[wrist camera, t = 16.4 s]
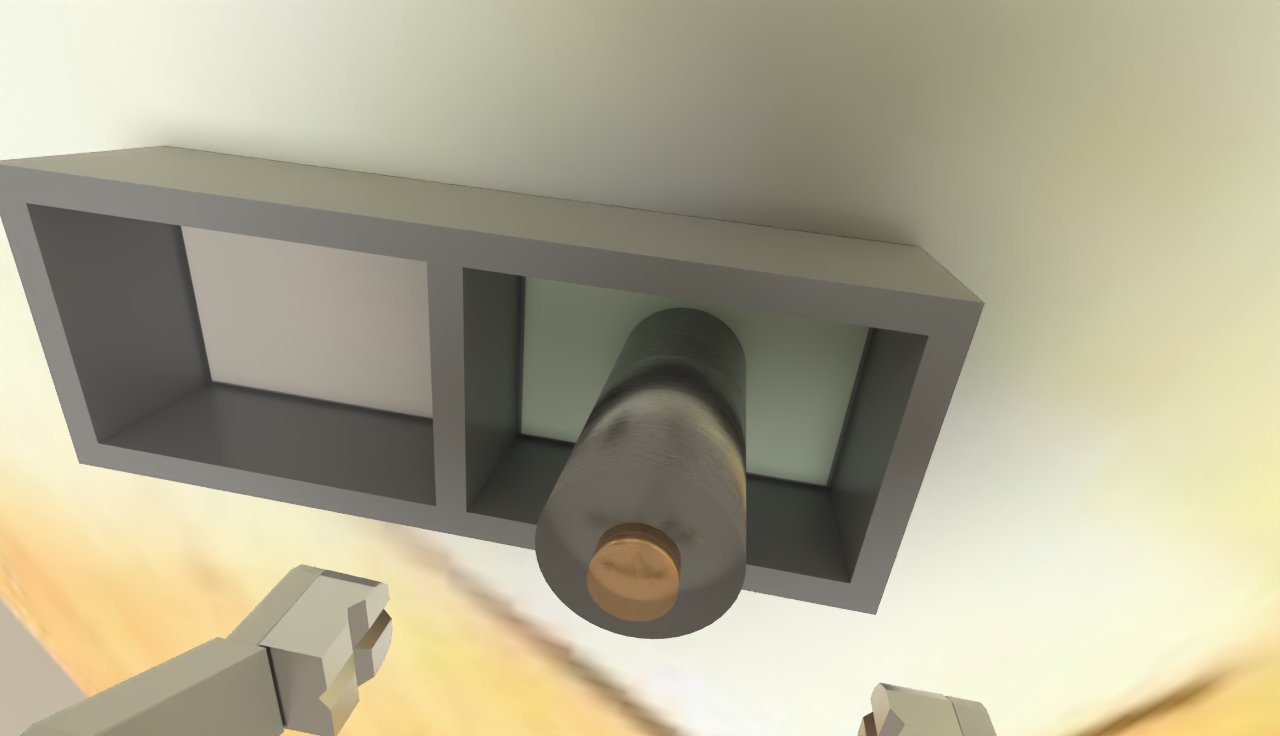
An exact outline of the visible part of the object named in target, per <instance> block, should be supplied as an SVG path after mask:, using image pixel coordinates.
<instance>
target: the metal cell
mask: <svg viewBox="0 0 1280 736" xmlns="http://www.w3.org/2000/svg"><path fill="white" fill-rule="evenodd" d="M535 551H536V556H537V561H538V564H539V567H540V570H541V572H542V574H543V576H544V578H545V580H546V582H547V583H548V585H549V586H550V588H551V589H552V591H553V592H554V593H555V594H556V595H557V597H558V598H559V599H560V600H561V601H562V602H563V603H564V604H565V605H566V606H567V607H568V608H569V609H571V610H572V611H573V612H575V613H576V614H577V615H579V616H580V617H582V618H583V619H585V620H587V621H588V622H590V623H592V624H594V625H596V626H598V627H600V628H603V629H605V630H608V631H611V632H614V633H617V634H621V635H625V636H629V637H636V638H645V639H664V638H672V637H679V636H683V635H686V634H690V633H693V632H695V631H698V630H700V629H703V628H704V627H706V626H708V625H710V624H712V623H713V622H715V621H716V620H717V619H719V618H720V617H721V616H722V615H723V614H724V613H725V612H726V611H727V610H728V609H729V608H730V607H731V606H732V604H733V603H734V602H735V600H736V599H737V597H738V595H739V593H740V591H741V589H742V586H743V583H744V579H745V573H746V359H745V354H744V351H743V348H742V345H741V343H740V341H739V339H738V338H737V336H736V335H735V333H734V332H733V331H732V330H731V329H730V328H729V327H728V326H727V325H726V324H725V323H724V322H723V321H721V320H720V319H718V318H717V317H715V316H713V315H711V314H709V313H707V312H704V311H701V310H697V309H692V308H671V309H665V310H662V311H659V312H656V313H654V314H652V315H650V316H648V317H647V318H645V319H644V320H643V321H641V322H640V323H639V324H638V325H637V326H636V327H635V328H634V329H633V330H632V332H631V333H630V335H629V336H628V338H627V340H626V342H625V344H624V346H623V348H622V350H621V352H620V354H619V356H618V358H617V360H616V363H615V365H614V367H613V369H612V371H611V373H610V375H609V377H608V379H607V381H606V383H605V385H604V387H603V389H602V391H601V393H600V395H599V397H598V399H597V401H596V403H595V405H594V407H593V409H592V411H591V413H590V416H589V418H588V420H587V422H586V424H585V426H584V428H583V430H582V432H581V434H580V436H579V438H578V440H577V442H576V444H575V446H574V448H573V450H572V452H571V454H570V456H569V458H568V460H567V462H566V464H565V466H564V469H563V471H562V473H561V475H560V477H559V479H558V481H557V483H556V485H555V487H554V489H553V491H552V493H551V495H550V497H549V499H548V501H547V503H546V505H545V507H544V509H543V511H542V513H541V515H540V517H539V521H538V524H537V527H536V535H535Z"/></svg>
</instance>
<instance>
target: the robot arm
mask: <svg viewBox="0 0 1280 736" xmlns="http://www.w3.org/2000/svg"><path fill="white" fill-rule="evenodd" d="M389 600H390V597H389V591H388V585H387V584H384V583H382V582H378V581H373V580H369V579H365V578H360V577H356V576H352V575H347V574H343V573H339V572H335V571H330V570H325V569H320V568H316V567H311V566H307V565H300V566H298V567H296V568H294V569H292V570H291V571H289V573H288V574H287V575H286V576H285V577H284V578H283V579H282V580H281V581H280V582H279V583H278V584H277V585H276V586H275V587H274V588H273V589H272V591H271V592H270V593H269V594H268V595H267V596H266V597H265V598H264V599H263V600H262V601H261V602H260V603H259V604H258V605H257V606H256V607H255V608H254V610H253V611H252V612H251V613H250V614H249V615H248V616H247V617H246V618H245V619H244V620H243V621H242V622H241V623H240V624H239V625H238V626H237V628H236V629H235V630H234V631H233V632H232V633H231V634H230V635H229V636H228V637H227V638H226V639H225V638H219V637H217V638H215V639H212V640H210V641H208V642H206V643H204V644H202V645H200V646H198V647H195V648H193V649H191V650H189V651H187V652H185V653H183V654H181V655H179V656H176V657H174V658H172V659H170V660H168V661H166V662H164V663H162V664H159V665H157V666H155V667H153V668H151V669H149V670H147V671H145V672H143V673H140V674H138V675H136V676H134V677H132V678H130V679H128V680H126V681H123V682H121V683H119V684H117V685H115V686H113V687H111V688H109V689H107V690H104V691H102V692H100V693H98V694H96V695H94V696H92V697H90V698H87V699H85V700H83V701H81V702H79V703H77V704H75V705H73V706H71V707H68V708H66V709H64V710H62V711H60V712H58V713H56V714H54V715H52V716H49V717H47V718H45V719H43V720H41V721H39V722H37V723H35V724H33V725H31V726H30V727H29V728H28V729H27V730H26V731H25V732H23V733H22V734H21V735H20V736H279V735H280V734H282V733H283V732H284V728H285V729H290V730H295V731H300V732H305V733H310V734H315V735H320V736H337V735H338V733H339V732H340V730H341V729H342V727H343V725H344V724H345V722H346V721H347V719H348V718H349V716H350V714H351V713H352V711H353V710H354V708H355V707H356V705H357V703H358V702H359V692H358V686H360V685H361V684H363V683H365V682H366V681H368V680H370V679H371V678H373V677H375V675H376V673H377V672H378V670H379V668H380V667H381V665H382V663H383V662H384V659H385V657H386V654H387V651H388V649H389V646H390V643H391V636H392V619H391V617H390V616H389V615H388V614H387V612H386V611H385V610H384V609H383V608H384V607H385V606H386V604H387V603H388V601H389ZM871 704H872V709H873V712H872V713H870V714H868V715H866V716H864V717H863V719H862V722H861V725H860V728H859V731H858V736H997V735H996V732H995V730H994V727H993V725H992V722H991V720H990V717H989V714H988V712H987V709H986V708H985V707H984V706H983V705H982V704H981V703H980V702H975V701H970V700H965V699H960V698H955V697H950V696H944V695H942V694H937V693H932V692H926V691H921V690H916V689H911V688H905V687H900V686H895V685H890V684H884V683H879V684H878V685H877V686H876V687H875V688H874V691H873V693H872V696H871Z"/></svg>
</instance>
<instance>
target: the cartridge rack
mask: <svg viewBox="0 0 1280 736" xmlns="http://www.w3.org/2000/svg"><path fill="white" fill-rule="evenodd" d="M0 216H1V219H2V222H3V225H4V229H5V232H6V235H7V238H8V241H9V244H10V247H11V250H12V254H13V257H14V260H15V263H16V266H17V269H18V272H19V276H20V279H21V282H22V285H23V288H24V291H25V294H26V298H27V301H28V304H29V307H30V310H31V313H32V316H33V320H34V323H35V326H36V329H37V332H38V335H39V338H40V341H41V345H42V348H43V351H44V354H45V357H46V360H47V363H48V367H49V370H50V373H51V376H52V379H53V382H54V385H55V389H56V392H57V395H58V398H59V401H60V404H61V407H62V411H63V414H64V417H65V420H66V423H67V426H68V429H69V432H70V436H71V439H72V442H73V445H74V448H75V451H76V454H77V458H78V461H79V463H81V464H86V465H91V466H97V467H102V468H107V469H112V470H118V471H123V472H128V473H133V474H139V475H144V476H149V477H154V478H160V479H165V480H170V481H175V482H181V483H186V484H191V485H196V486H202V487H207V488H212V489H217V490H223V491H228V492H233V493H238V494H244V495H249V496H254V497H259V498H265V499H270V500H275V501H280V502H286V503H291V504H296V505H301V506H307V507H312V508H317V509H322V510H328V511H333V512H338V513H343V514H349V515H354V516H359V517H364V518H370V519H375V520H380V521H385V522H391V523H396V524H401V525H406V526H412V527H417V528H422V529H427V530H433V531H438V532H443V533H448V534H454V535H459V536H464V537H469V538H475V539H480V540H485V541H491V542H496V543H501V544H506V545H512V546H517V547H522V548H527V549H533V550H535V535H536V527H537V524H538V521H539V517H540V515H541V513H542V511H543V509H544V507H545V505H546V503H547V501H548V499H549V497H550V495H551V493H552V491H553V489H554V487H555V485H556V483H557V481H558V479H559V477H560V475H561V473H562V471H563V469H564V466H565V464H566V462H567V460H568V458H569V456H570V454H571V452H572V450H573V448H574V446H575V444H576V442H577V440H578V438H579V436H580V434H581V432H582V430H583V428H584V426H585V424H586V422H587V420H588V418H589V416H590V413H591V411H592V409H593V407H594V405H595V403H596V401H597V399H598V397H599V395H600V393H601V391H602V389H603V387H604V385H605V383H606V381H607V379H608V377H609V375H610V373H611V371H612V369H613V367H614V365H615V363H616V360H617V358H618V356H619V354H620V352H621V350H622V348H623V346H624V344H625V342H626V340H627V338H628V336H629V335H630V333H631V332H632V330H633V329H634V328H635V327H636V326H637V325H638V324H639V323H640V322H641V321H643V320H644V319H645V318H647V317H648V316H650V315H652V314H654V313H656V312H659V311H662V310H665V309H671V308H692V309H697V310H701V311H704V312H707V313H709V314H711V315H713V316H715V317H717V318H718V319H720V320H721V321H723V322H724V323H725V324H726V325H727V326H728V327H729V328H730V329H731V330H732V331H733V332H734V333H735V335H736V336H737V338H738V339H739V341H740V343H741V345H742V348H743V351H744V354H745V359H746V573H745V579H744V583H743V586H742V589H743V590H748V591H753V592H758V593H764V594H769V595H774V596H779V597H785V598H790V599H795V600H800V601H806V602H811V603H816V604H821V605H827V606H832V607H837V608H842V609H848V610H853V611H858V612H863V613H869V614H874V615H876V613H877V610H878V607H879V604H880V601H881V598H882V595H883V593H884V590H885V587H886V584H887V581H888V578H889V575H890V572H891V570H892V567H893V564H894V561H895V558H896V555H897V552H898V550H899V547H900V544H901V541H902V538H903V535H904V532H905V530H906V527H907V524H908V521H909V518H910V515H911V512H912V510H913V507H914V504H915V501H916V498H917V495H918V492H919V489H920V487H921V484H922V481H923V478H924V475H925V472H926V469H927V467H928V464H929V461H930V458H931V455H932V452H933V449H934V447H935V444H936V441H937V438H938V435H939V432H940V429H941V427H942V424H943V421H944V418H945V415H946V412H947V409H948V406H949V404H950V401H951V398H952V395H953V392H954V389H955V386H956V384H957V381H958V378H959V375H960V372H961V369H962V366H963V364H964V361H965V358H966V355H967V352H968V349H969V346H970V344H971V341H972V338H973V335H974V332H975V329H976V326H977V323H978V321H979V318H980V315H981V312H982V309H983V306H984V302H983V301H982V300H981V299H979V298H978V297H977V296H976V295H975V294H974V293H973V292H971V291H970V290H969V289H968V288H967V287H966V286H964V285H963V284H962V283H961V282H960V281H959V280H958V279H956V278H955V277H954V276H953V275H952V274H951V273H950V272H948V271H947V270H946V269H945V268H944V267H943V266H942V265H940V264H939V263H938V262H937V261H936V260H935V259H933V258H932V257H931V256H930V255H929V254H928V253H927V252H925V251H924V250H923V249H922V248H921V247H916V246H908V245H901V244H893V243H886V242H878V241H871V240H863V239H856V238H848V237H841V236H834V235H826V234H819V233H811V232H804V231H796V230H789V229H781V228H774V227H766V226H759V225H751V224H744V223H736V222H729V221H721V220H714V219H706V218H699V217H692V216H684V215H677V214H669V213H662V212H654V211H647V210H639V209H632V208H624V207H617V206H609V205H602V204H594V203H587V202H579V201H572V200H564V199H557V198H550V197H542V196H535V195H527V194H520V193H512V192H505V191H497V190H490V189H482V188H475V187H467V186H460V185H452V184H445V183H437V182H430V181H423V180H415V179H408V178H400V177H393V176H385V175H378V174H370V173H363V172H355V171H348V170H340V169H333V168H325V167H318V166H310V165H303V164H295V163H288V162H281V161H273V160H266V159H258V158H251V157H243V156H236V155H228V154H221V153H213V152H206V151H198V150H191V149H183V148H176V147H168V146H157V147H146V148H135V149H124V150H112V151H101V152H90V153H79V154H67V155H56V156H45V157H34V158H23V159H11V160H0Z"/></svg>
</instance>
